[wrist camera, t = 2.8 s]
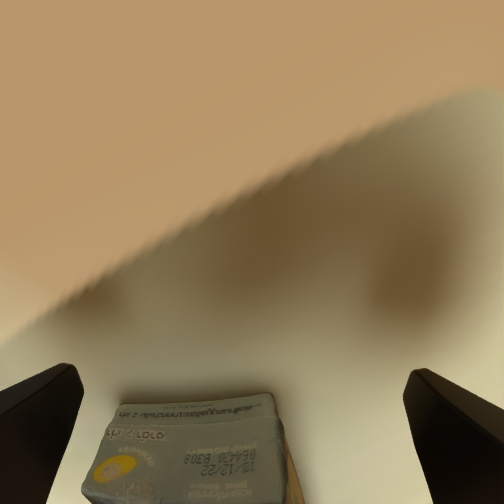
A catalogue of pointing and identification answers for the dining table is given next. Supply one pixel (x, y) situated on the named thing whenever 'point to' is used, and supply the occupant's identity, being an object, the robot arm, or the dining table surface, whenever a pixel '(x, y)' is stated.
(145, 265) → the dining table surface
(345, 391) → the dining table surface
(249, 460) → the beverage carton
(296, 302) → the dining table surface
